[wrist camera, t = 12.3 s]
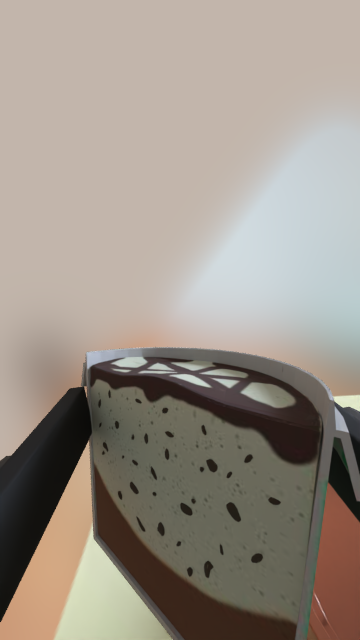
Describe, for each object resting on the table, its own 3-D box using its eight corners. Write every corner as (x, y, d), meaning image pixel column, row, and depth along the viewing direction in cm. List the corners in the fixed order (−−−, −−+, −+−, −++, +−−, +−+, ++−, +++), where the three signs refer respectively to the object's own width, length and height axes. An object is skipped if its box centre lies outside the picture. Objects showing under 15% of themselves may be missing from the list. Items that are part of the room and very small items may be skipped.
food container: (348, 580, 9) (347, 360, 9) (368, 888, 4) (366, 406, 4) (154, 462, 16) (154, 342, 17) (80, 521, 12) (81, 351, 12)
